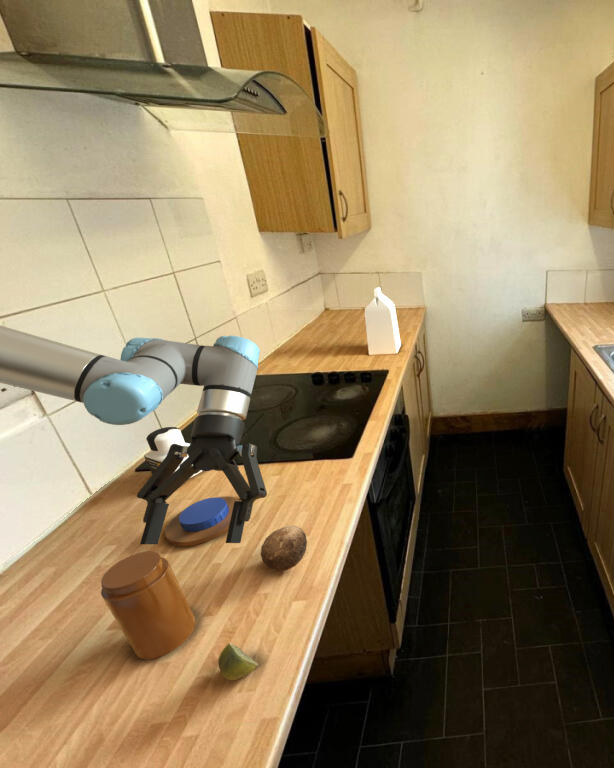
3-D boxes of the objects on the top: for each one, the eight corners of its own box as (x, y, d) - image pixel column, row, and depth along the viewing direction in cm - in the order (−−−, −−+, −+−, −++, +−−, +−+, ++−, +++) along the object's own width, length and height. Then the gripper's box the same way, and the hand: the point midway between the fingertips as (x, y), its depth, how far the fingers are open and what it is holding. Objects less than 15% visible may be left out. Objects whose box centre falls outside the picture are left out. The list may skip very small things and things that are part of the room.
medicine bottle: (154, 480, 96) (134, 436, 91) (186, 463, 102) (169, 421, 97) (174, 487, 94) (154, 442, 89) (205, 470, 100) (189, 426, 95)
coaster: (149, 544, 78) (147, 540, 78) (201, 498, 90) (200, 495, 90) (213, 548, 77) (211, 544, 77) (258, 501, 89) (257, 497, 89)
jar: (121, 657, 59) (80, 589, 53) (164, 611, 66) (131, 546, 60) (168, 661, 58) (131, 593, 53) (207, 614, 65) (177, 549, 59)
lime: (234, 656, 59) (223, 632, 57) (269, 654, 59) (259, 630, 57) (215, 690, 55) (203, 666, 53) (252, 687, 55) (242, 663, 53)
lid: (237, 505, 87) (235, 498, 86) (209, 533, 79) (206, 525, 79) (202, 503, 87) (199, 496, 86) (171, 530, 80) (168, 523, 79)
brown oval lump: (306, 519, 79) (286, 512, 74) (325, 552, 76) (305, 547, 70) (269, 548, 78) (246, 544, 72) (287, 584, 74) (264, 581, 69)
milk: (374, 345, 183) (365, 286, 173) (400, 344, 185) (393, 285, 174) (368, 354, 173) (359, 292, 162) (397, 353, 174) (389, 291, 163)
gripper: (300, 423, 79) (279, 542, 71) (168, 424, 79) (133, 544, 71) (280, 411, 72) (254, 542, 64) (134, 413, 72) (92, 545, 64)
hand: (191, 544), depth 68 cm, fingers open, 13 cm apart
